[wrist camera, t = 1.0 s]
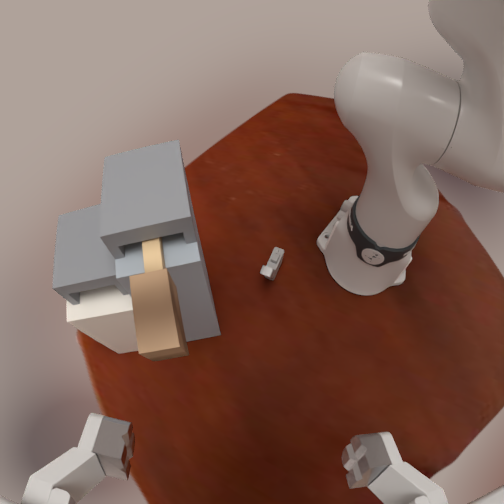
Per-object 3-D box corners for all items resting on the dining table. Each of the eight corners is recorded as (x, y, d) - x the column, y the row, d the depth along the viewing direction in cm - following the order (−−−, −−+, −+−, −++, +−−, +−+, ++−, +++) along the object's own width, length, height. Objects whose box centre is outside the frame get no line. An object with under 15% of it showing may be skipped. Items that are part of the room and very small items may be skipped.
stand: (220, 334, 50) (194, 236, 24) (118, 353, 48) (8, 279, 22) (207, 270, 56) (178, 139, 30) (112, 290, 54) (27, 182, 28)
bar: (189, 355, 24) (179, 346, 20) (153, 361, 24) (138, 353, 20) (163, 188, 31) (155, 162, 28) (135, 194, 31) (125, 169, 27)
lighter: (273, 258, 58) (276, 234, 51) (281, 261, 57) (287, 238, 50) (257, 291, 54) (259, 271, 47) (267, 295, 54) (270, 275, 47)
